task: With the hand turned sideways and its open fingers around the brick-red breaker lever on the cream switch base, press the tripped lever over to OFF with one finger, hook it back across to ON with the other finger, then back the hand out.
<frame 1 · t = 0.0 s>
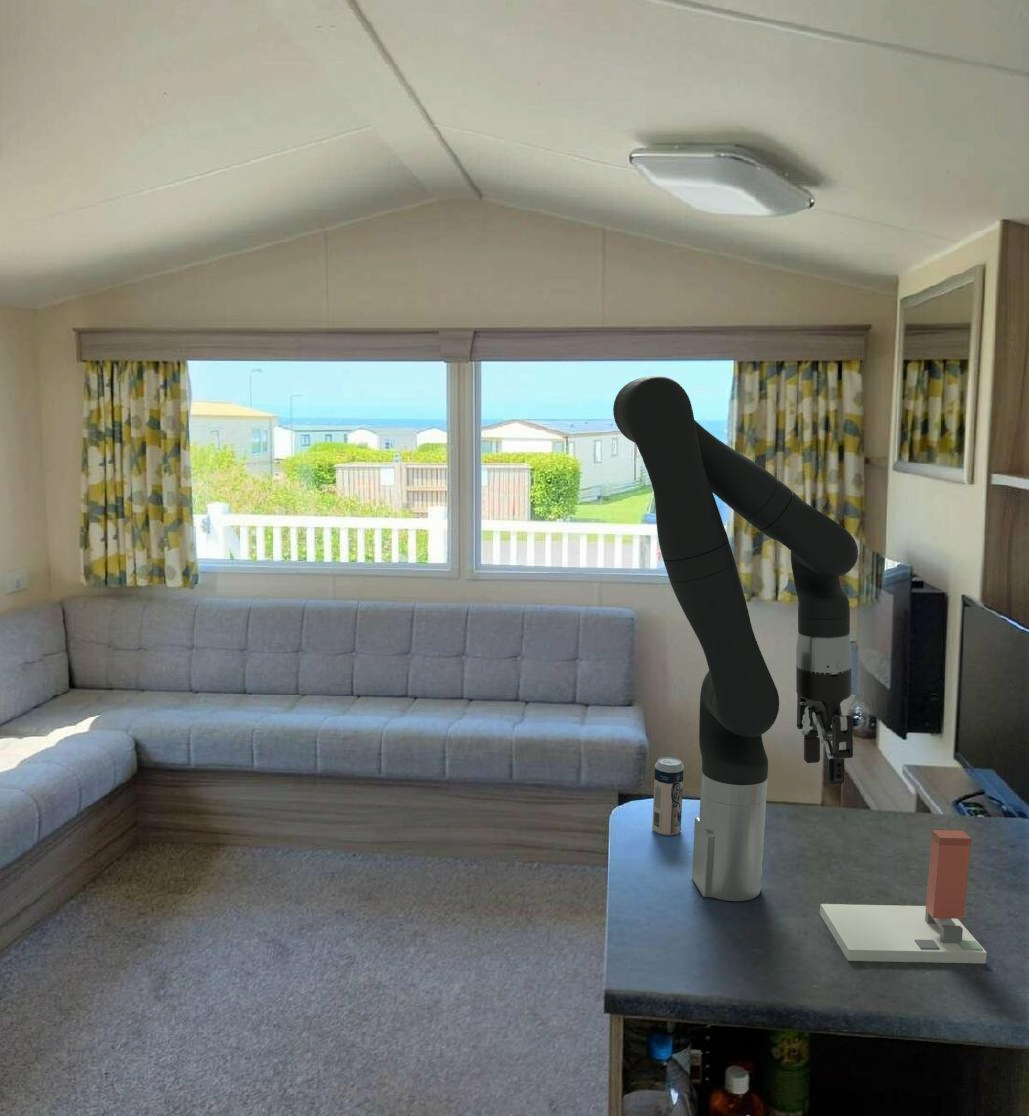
hand: (823, 772, 148), 17 cm above the counter, tool pointing down, fingers open, 8 cm apart
breaker lever: (947, 881, 133), point 9 cm above the counter, hinge at 0.0°
beer can: (666, 832, 168), on the counter
breaker base: (941, 942, 134), on the counter
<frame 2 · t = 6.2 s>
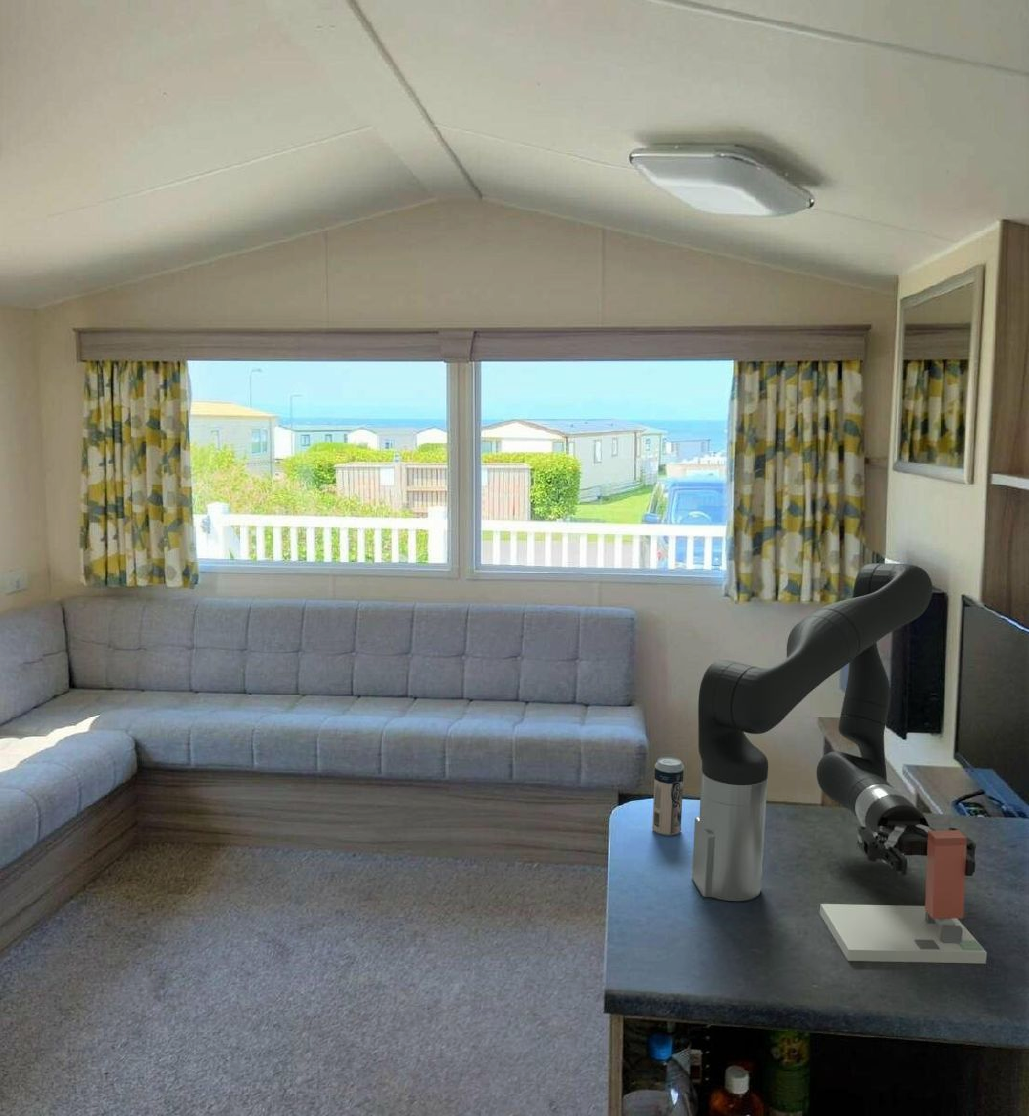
hand: (937, 868, 131), 11 cm above the counter, tool horizontal, fingers open, 8 cm apart
breaker lever: (945, 881, 133), point 9 cm above the counter, hinge at -2.7°, touching gripper
everything else where it was.
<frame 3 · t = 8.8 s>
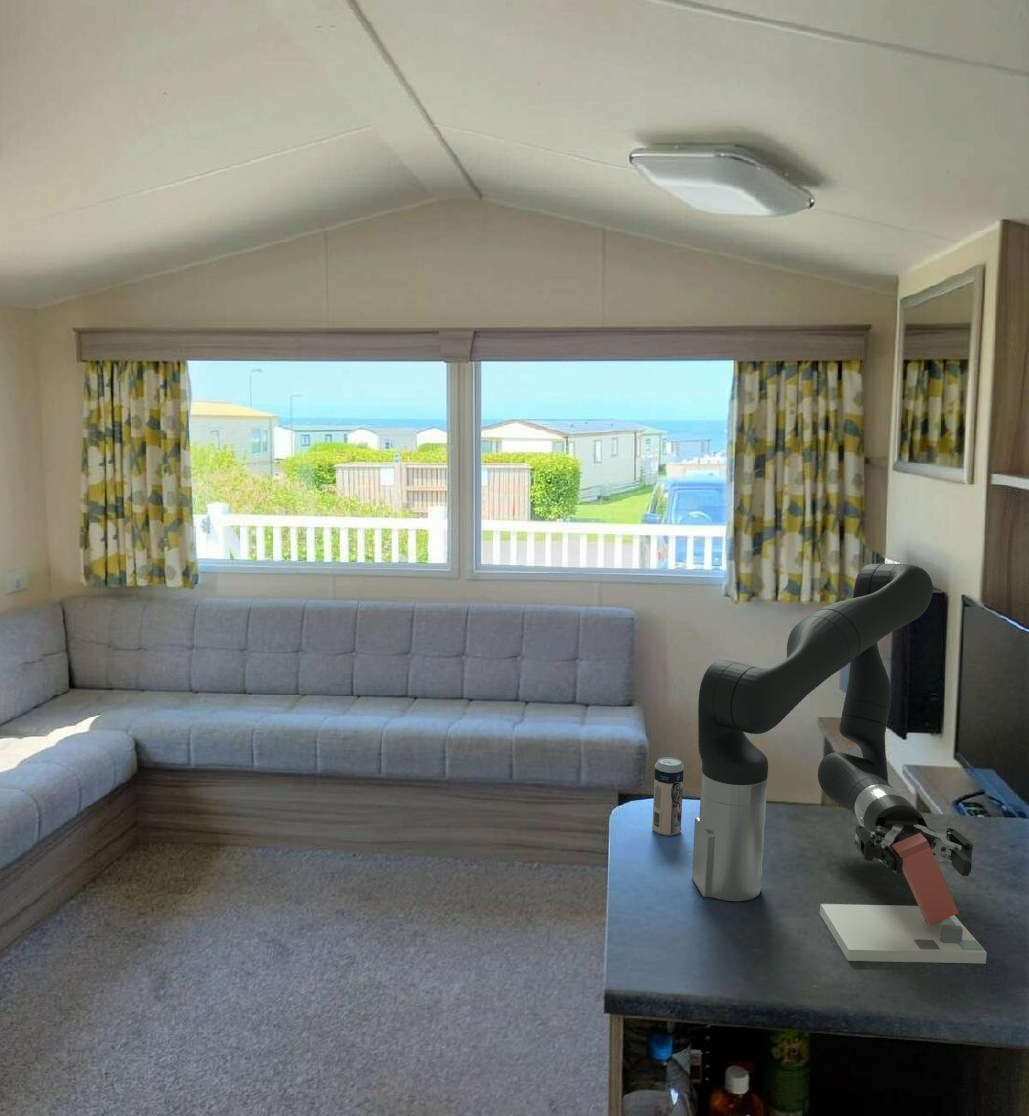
hand: (933, 868, 131), 11 cm above the counter, tool horizontal, fingers open, 8 cm apart
breaker lever: (927, 885, 133), point 8 cm above the counter, hinge at -26.7°, touching gripper
everything else where it was.
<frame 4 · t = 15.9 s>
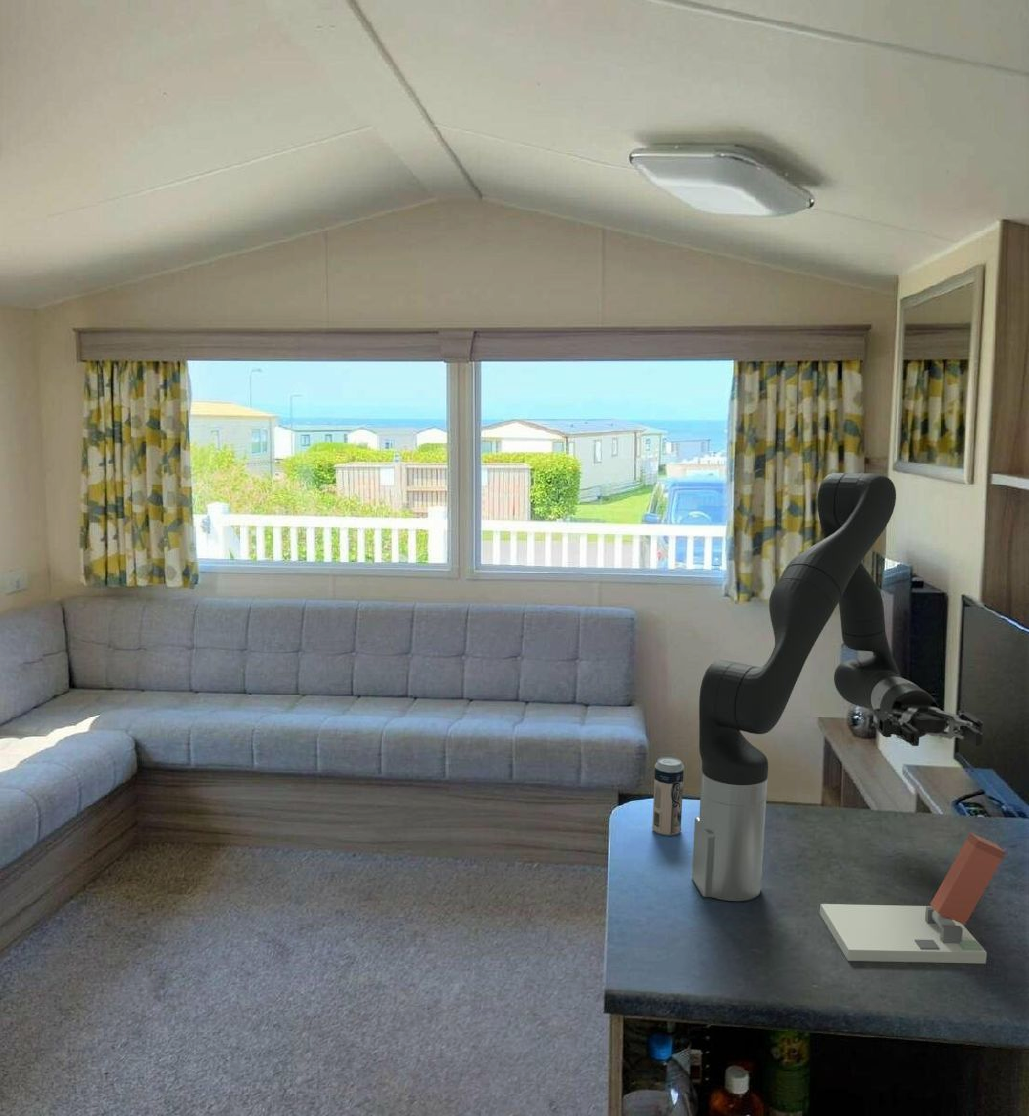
hand: (947, 740, 142), 24 cm above the counter, tool horizontal, fingers open, 8 cm apart
breaker lever: (964, 884, 133), point 8 cm above the counter, hinge at 23.6°
everything else where it was.
at the end: breaker lever at +24° (first picture: +0°); beer can moved 0.2 cm from its start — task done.
